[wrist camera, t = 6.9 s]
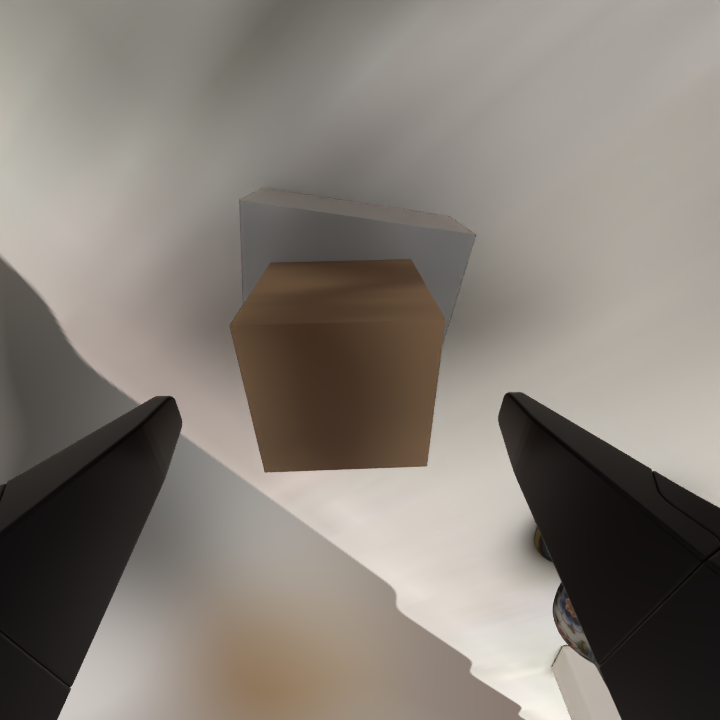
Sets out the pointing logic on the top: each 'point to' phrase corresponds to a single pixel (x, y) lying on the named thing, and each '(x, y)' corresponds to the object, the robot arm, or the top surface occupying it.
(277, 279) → the walnut cube
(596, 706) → the medicine bottle
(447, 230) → the stoneware block
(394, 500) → the top surface
